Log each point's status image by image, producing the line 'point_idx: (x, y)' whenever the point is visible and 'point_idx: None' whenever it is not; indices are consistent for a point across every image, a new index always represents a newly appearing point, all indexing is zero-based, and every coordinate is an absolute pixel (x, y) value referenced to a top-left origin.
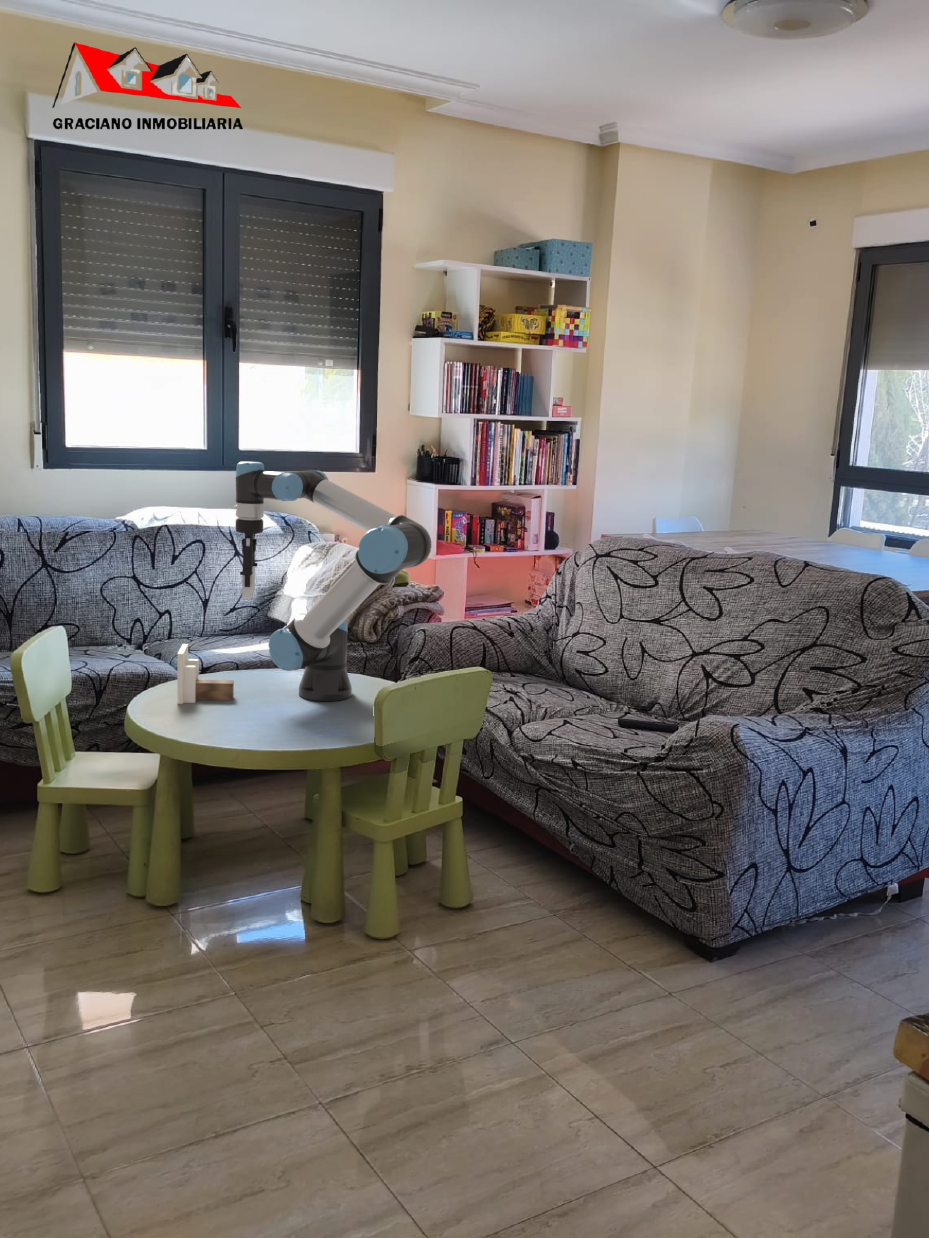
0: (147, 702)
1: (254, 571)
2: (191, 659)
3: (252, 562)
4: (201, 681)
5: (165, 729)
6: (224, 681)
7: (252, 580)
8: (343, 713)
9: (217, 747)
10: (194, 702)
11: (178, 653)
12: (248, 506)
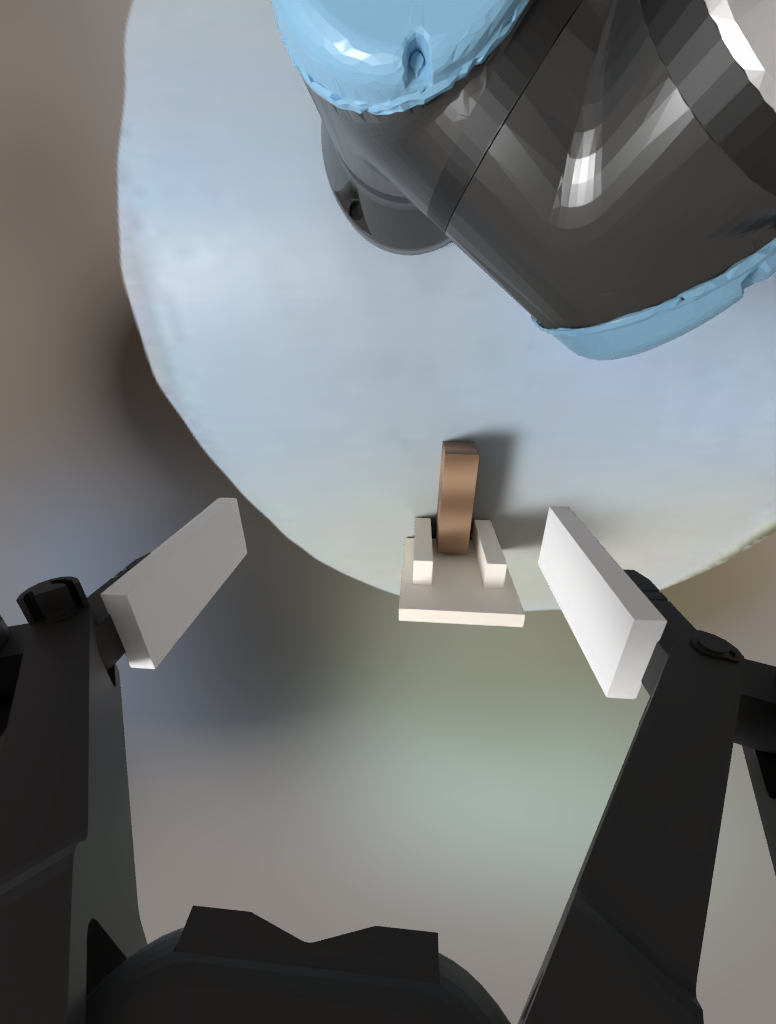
0: None
1: (156, 574)
2: (419, 575)
3: (674, 760)
4: (456, 527)
5: (675, 559)
6: (456, 475)
7: (635, 584)
8: None
9: None
10: (490, 521)
11: (519, 625)
12: None
